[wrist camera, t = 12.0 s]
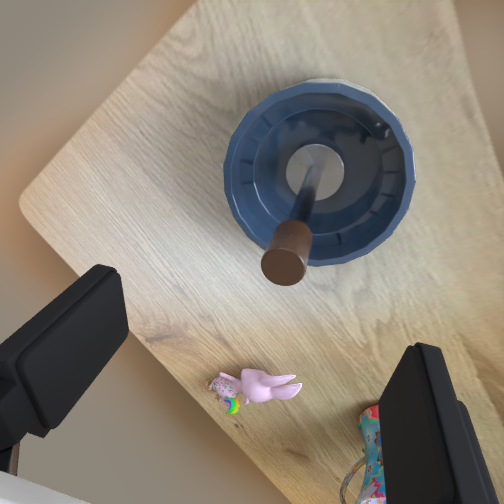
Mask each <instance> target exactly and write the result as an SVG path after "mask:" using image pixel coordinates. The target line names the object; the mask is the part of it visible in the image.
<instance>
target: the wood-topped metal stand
mask: <svg viewBox="0 0 504 504" xmlns="http://www.w3.org/2000/svg"><path fill="white" fill-rule="evenodd" d="M344 173H345V164H344V160H343V157H342V155H341V153H340V152H339V151H338V150H337V149H336V148H335V147H334V146H333V145H331V144H329V143H327V142H323V141H310V142H307V143H305V144H303V145H301V146H300V147H298V148H297V149H296V150H295V151H294V153H293V154H292V156H291V157H290V159H289V161H288V163H287V167H286V179H287V182H288V185H289V187H290V188H291V190H292V191H293V192H294V193H295V194H296V195H297V197H296V200H295V202H294V205H293V207H292V210H291V212H290V215H289V217H288V220H286V221H283V222H281V223H280V224H279V225H278V226H277V227H276V229H275V231H274V233H273V235H272V237H271V239H270V242H269V244H268V246H267V248H266V250H265V253H264V255H263V257H262V260H261V268H262V271H263V273H264V275H265V276H266V278H267V279H268V280H270V281H271V282H273V283H275V284H277V285H281V286H290V285H294V284H296V283H298V282H299V281H300V280H301V279H302V278H303V277H304V275H305V272H306V267H307V263H308V259H309V254H310V250H311V245H312V240H313V236H312V232H311V230H310V229H309V227H308V225H309V221H310V218H311V214H312V210H313V206H314V203H315V201H319V200H324V199H326V198H328V197H330V196H332V195H333V194H334V193H335V192H336V191H337V190H338V189H339V188H340V186H341V184H342V182H343V179H344Z"/></svg>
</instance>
